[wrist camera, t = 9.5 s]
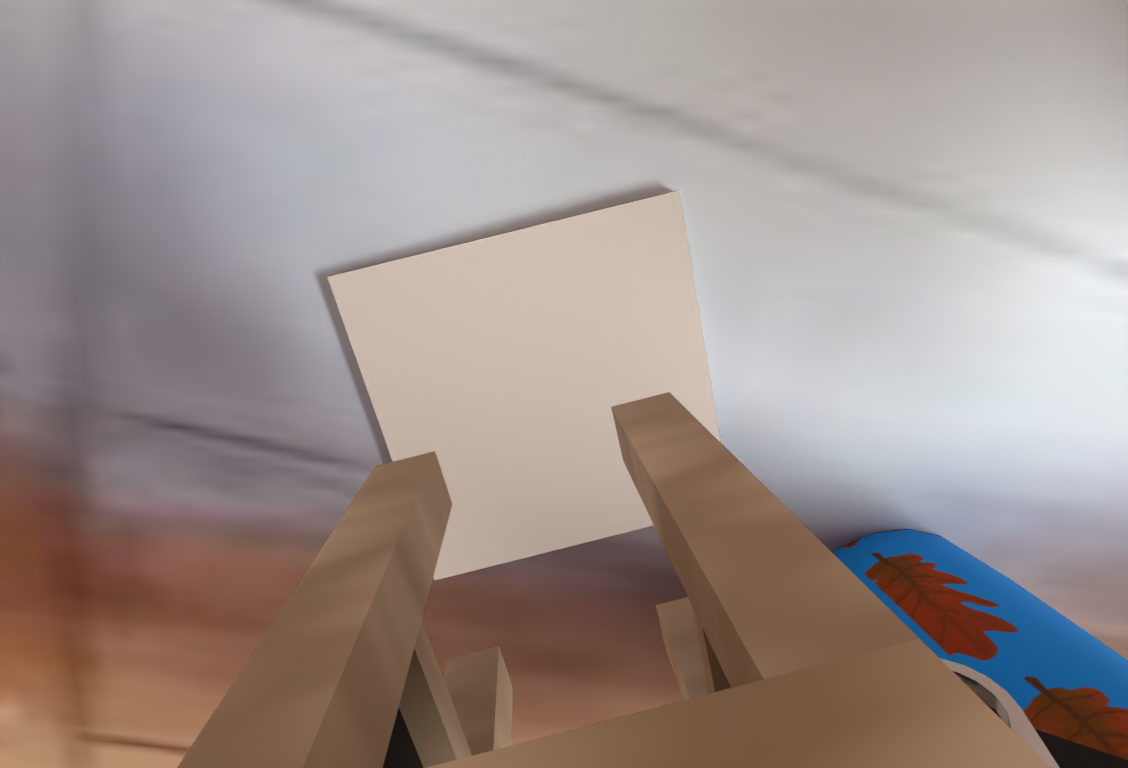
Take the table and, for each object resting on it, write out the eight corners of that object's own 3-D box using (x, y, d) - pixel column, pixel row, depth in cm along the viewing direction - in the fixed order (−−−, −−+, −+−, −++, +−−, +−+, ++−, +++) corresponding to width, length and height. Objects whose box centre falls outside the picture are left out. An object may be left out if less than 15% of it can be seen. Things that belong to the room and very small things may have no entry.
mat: (674, 191, 21) (678, 190, 20) (726, 499, 25) (731, 506, 24) (332, 276, 21) (327, 277, 20) (436, 572, 24) (434, 580, 24)
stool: (669, 392, 10) (1087, 804, 3) (715, 635, 12) (1062, 1328, 4) (375, 465, 10) (-47, 1109, 3) (461, 701, 12) (353, 1532, 4)
